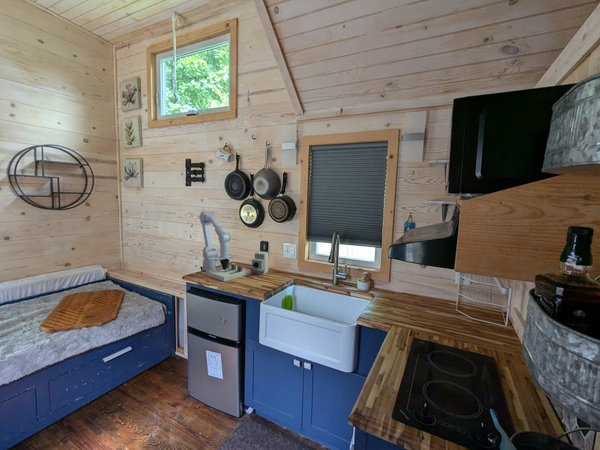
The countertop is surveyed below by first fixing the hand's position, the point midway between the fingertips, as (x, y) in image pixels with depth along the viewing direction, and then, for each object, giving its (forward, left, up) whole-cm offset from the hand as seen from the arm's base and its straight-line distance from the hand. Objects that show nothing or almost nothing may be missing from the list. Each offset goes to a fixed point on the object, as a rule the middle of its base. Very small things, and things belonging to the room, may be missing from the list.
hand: (224, 269), depth 202 cm
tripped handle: (0, +8, -1) cm, 8 cm away
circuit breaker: (+14, +21, -5) cm, 26 cm away
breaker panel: (0, +4, -4) cm, 6 cm away
